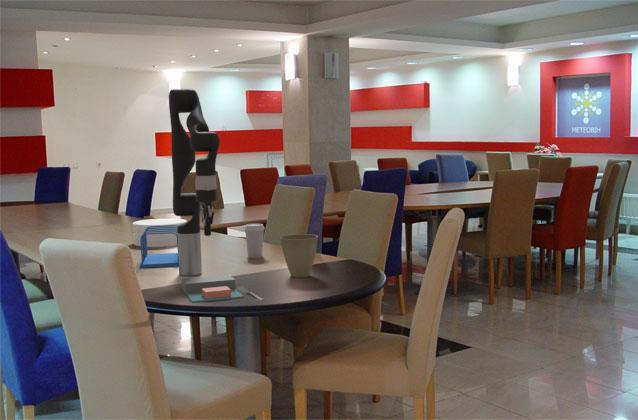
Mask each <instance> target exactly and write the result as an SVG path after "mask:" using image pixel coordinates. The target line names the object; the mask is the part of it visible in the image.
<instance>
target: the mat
mask: <svg viewBox="0 0 638 420" xmlns="http://www.w3.org/2000/svg"><path fill="white" fill-rule="evenodd" d="M185 295H186V297H187V298H188V299H189V300H190V302H191V303H201V302H202V303H203V302H209V301H210V302H212V301H221V300H232V299H242V298H244V295H243V294H242V293H241V292H239V290H238V289H237V288H235V289H231V296H229V297H219V298H209V299H205V298H204V297H203V296H202V292H199V293H188V294H185Z"/></svg>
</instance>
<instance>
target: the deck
mask: <svg viewBox="0 0 638 420" xmlns="http://www.w3.org/2000/svg"><path fill="white" fill-rule="evenodd" d="M180 282H181V285H180V286H181V290H182V292H183V293H184V294H185V295H186V294H188V293H199V292H202V288H212V287H223V286H227V287H228V288H230V289H236V279H235V278H234V277H233V276H232V275H230V274H219V275H207V276H205V275H204V276H196V277H184V278H181V279H180Z"/></svg>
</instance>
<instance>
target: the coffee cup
mask: <svg viewBox="0 0 638 420" xmlns="http://www.w3.org/2000/svg"><path fill="white" fill-rule="evenodd" d="M243 230H244V232H245V240H246V248H247V249H246V250H247V257H248V258H250V259H259V258H262V257H263V248H264V231H265V230H266V229H265V226H264V224H263V223H247V224H245V227H244V228H243Z"/></svg>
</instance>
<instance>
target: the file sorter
mask: <svg viewBox="0 0 638 420" xmlns="http://www.w3.org/2000/svg"><path fill="white" fill-rule="evenodd" d="M168 226H175V227H168ZM150 227H154V228H150ZM160 228H176V229H177V228H178V226H176V225H163V226H149V227H147V228H146V230H145V232H144V233H143V235H142V236H141V239H140V243H141V246H140V254H141V262H140V264H139V266H140V268H139V269H145V268H146V269H148V268H166V267H179V258H178V252H168V253H167V252H166V253H152V254H151V253H148V247H147V237H146V235H149V234H175V235H176V237H177V245H176V246H177V249H178V233H177V232H176V231H177V230H176V229H160ZM148 229H150V230H148ZM155 230H166V231H155ZM174 230H176V231H174ZM151 232H163V233H151ZM174 232H175V233H174ZM176 233H177V234H176ZM144 242H145V244H144Z"/></svg>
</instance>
